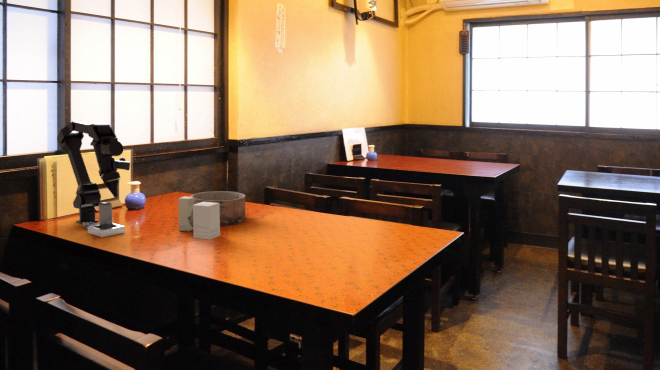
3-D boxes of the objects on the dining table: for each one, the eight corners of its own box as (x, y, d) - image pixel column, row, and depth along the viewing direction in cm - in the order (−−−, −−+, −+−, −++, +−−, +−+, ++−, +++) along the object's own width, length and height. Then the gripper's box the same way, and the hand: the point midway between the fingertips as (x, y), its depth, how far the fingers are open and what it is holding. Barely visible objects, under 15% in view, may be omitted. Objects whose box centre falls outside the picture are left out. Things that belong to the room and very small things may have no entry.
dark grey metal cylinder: (97, 233, 201) (96, 202, 199) (108, 230, 205) (107, 201, 203) (104, 235, 198) (102, 204, 197) (115, 232, 202) (114, 202, 200)
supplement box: (220, 235, 202) (220, 202, 200) (210, 240, 195) (209, 206, 193) (203, 233, 204) (203, 201, 202) (192, 238, 197) (192, 204, 196)
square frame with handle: (73, 228, 206) (73, 222, 206) (96, 224, 214) (96, 218, 214) (101, 237, 195) (101, 230, 195) (125, 232, 203) (124, 226, 202)
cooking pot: (206, 212, 244) (206, 188, 242) (254, 215, 240) (254, 191, 239) (178, 227, 214) (178, 200, 213) (232, 230, 211) (232, 203, 209)
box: (188, 231, 207) (188, 198, 205) (178, 230, 207) (177, 198, 205) (194, 228, 212) (194, 196, 210) (184, 227, 212) (184, 196, 210)
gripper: (128, 153, 201) (139, 193, 205) (122, 149, 217) (132, 185, 221) (97, 160, 197) (108, 200, 200) (93, 155, 213) (104, 192, 217)
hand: (114, 194), depth 210 cm, fingers open, 9 cm apart
